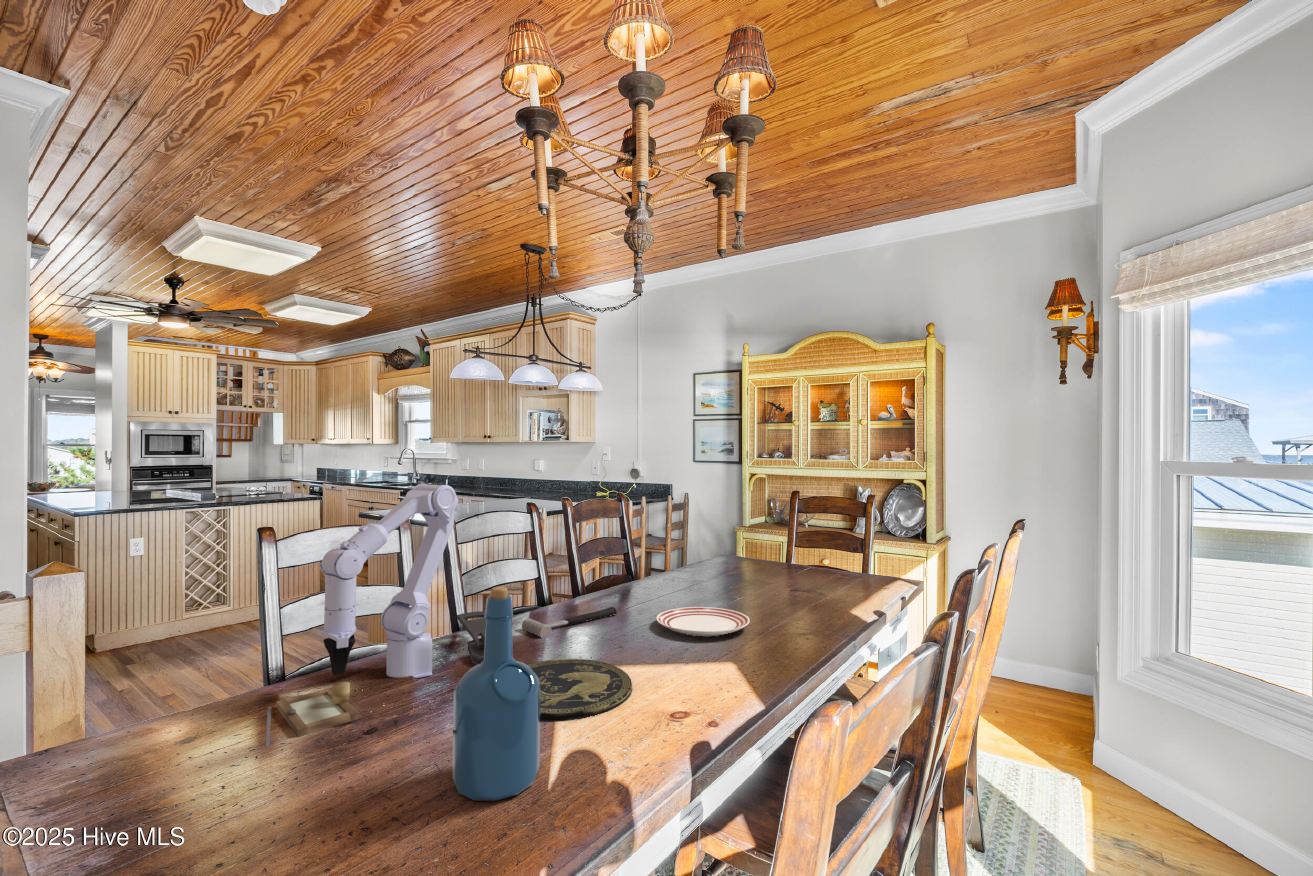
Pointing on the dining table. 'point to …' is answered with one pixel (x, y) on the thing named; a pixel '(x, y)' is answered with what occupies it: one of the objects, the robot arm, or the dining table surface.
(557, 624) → the rubber mallet
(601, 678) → the decorative plate
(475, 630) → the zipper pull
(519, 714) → the wine bottle
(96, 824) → the dining table surface
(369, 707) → the dining table surface
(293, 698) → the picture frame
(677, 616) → the dinner plate
